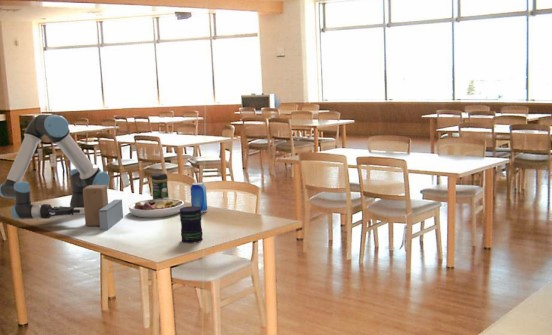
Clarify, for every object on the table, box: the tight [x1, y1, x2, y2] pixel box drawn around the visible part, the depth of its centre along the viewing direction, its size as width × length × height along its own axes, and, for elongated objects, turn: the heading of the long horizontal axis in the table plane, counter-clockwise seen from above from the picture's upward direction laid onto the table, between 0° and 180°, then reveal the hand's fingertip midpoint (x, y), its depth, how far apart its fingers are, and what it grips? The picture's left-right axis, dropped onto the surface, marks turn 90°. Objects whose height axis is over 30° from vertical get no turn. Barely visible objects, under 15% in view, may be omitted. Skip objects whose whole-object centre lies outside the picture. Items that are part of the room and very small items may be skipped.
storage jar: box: [179, 205, 203, 244], centre depth 302 cm, size 10×10×15 cm
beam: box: [99, 199, 124, 231], centre depth 341 cm, size 26×4×10 cm, turn 177°
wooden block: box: [83, 185, 109, 227], centre depth 341 cm, size 10×10×20 cm
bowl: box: [128, 198, 185, 219], centre depth 364 cm, size 30×30×8 cm
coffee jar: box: [151, 172, 170, 199], centre depth 386 cm, size 10×8×19 cm
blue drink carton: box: [190, 181, 208, 214], centre depth 361 cm, size 8×8×16 cm
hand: (86, 210), depth 341 cm, fingers closed
